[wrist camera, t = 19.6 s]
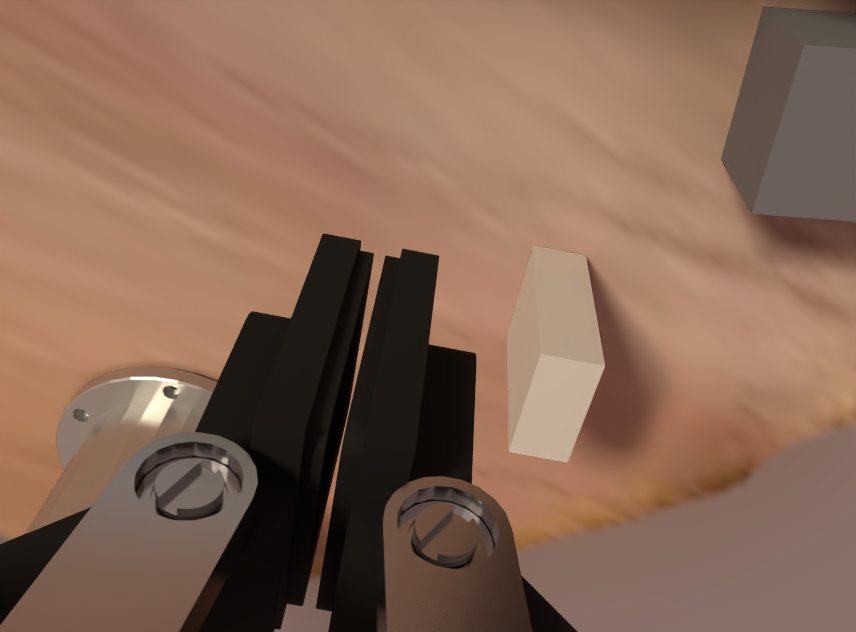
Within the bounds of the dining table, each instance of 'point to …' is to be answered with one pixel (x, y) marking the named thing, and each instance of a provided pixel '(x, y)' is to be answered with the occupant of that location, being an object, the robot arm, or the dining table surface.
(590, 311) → the pair of cream posts
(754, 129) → the block
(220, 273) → the dining table surface
